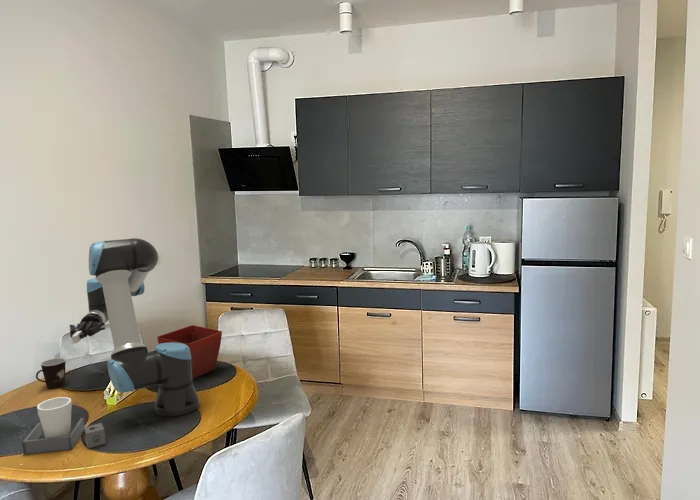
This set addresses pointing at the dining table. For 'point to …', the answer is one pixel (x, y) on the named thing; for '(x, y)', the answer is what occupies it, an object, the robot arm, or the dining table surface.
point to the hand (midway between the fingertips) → (74, 339)
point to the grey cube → (94, 435)
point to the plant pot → (197, 346)
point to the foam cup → (55, 416)
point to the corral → (51, 440)
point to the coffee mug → (53, 373)
